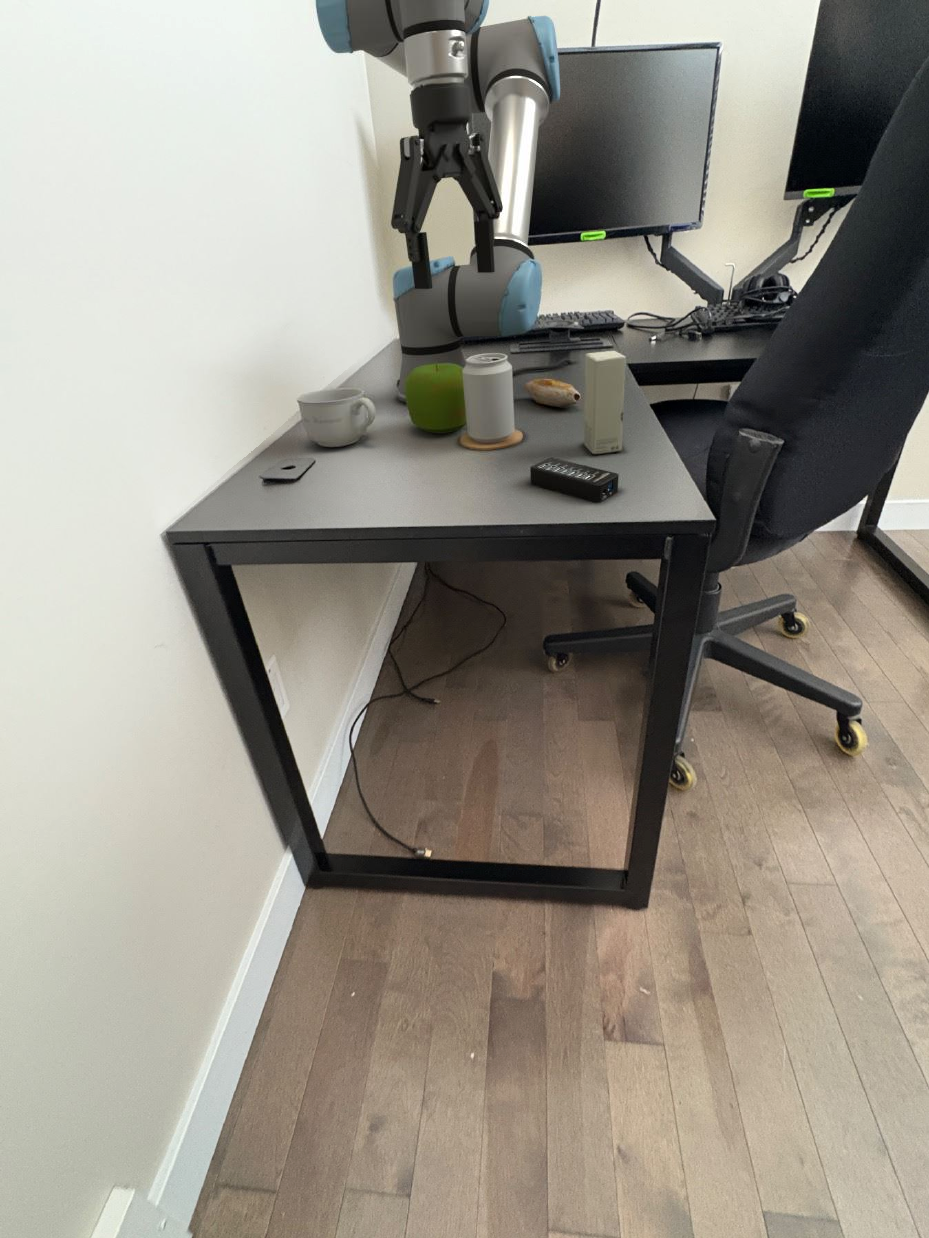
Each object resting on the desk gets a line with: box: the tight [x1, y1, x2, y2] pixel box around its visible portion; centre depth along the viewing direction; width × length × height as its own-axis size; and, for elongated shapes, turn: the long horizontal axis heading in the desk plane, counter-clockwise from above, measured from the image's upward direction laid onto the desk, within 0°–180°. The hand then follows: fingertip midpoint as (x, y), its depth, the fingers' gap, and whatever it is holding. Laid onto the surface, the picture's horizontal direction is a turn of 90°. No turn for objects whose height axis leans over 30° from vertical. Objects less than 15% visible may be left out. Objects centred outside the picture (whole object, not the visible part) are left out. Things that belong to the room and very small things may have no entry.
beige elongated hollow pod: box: [524, 378, 582, 408], centre depth 107 cm, size 5×14×4 cm, turn 30°
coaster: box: [459, 428, 524, 451], centre depth 95 cm, size 10×10×1 cm
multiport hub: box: [529, 457, 620, 503], centre depth 77 cm, size 4×11×2 cm, turn 45°
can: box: [462, 352, 515, 443], centre depth 92 cm, size 8×8×12 cm
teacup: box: [296, 387, 377, 448], centre depth 98 cm, size 14×11×8 cm
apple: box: [404, 361, 467, 434], centre depth 99 cm, size 11×11×11 cm
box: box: [583, 350, 627, 455], centre depth 84 cm, size 5×4×13 cm
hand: (456, 280), depth 87 cm, fingers open, 13 cm apart
